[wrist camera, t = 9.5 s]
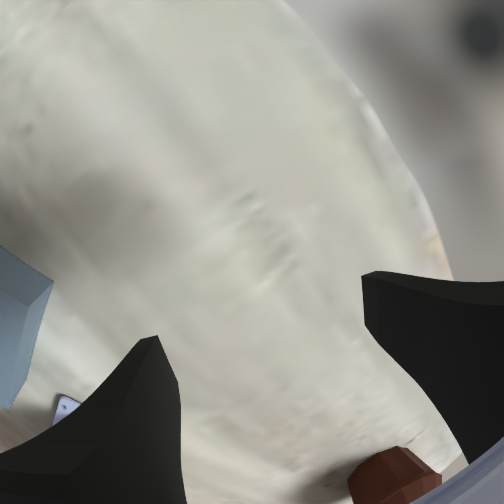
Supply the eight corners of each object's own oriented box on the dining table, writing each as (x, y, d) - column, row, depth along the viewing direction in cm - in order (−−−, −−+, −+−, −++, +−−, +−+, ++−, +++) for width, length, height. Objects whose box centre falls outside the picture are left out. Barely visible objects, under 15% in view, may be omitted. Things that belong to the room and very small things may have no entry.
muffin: (430, 434, 31) (472, 482, 21) (387, 486, 33) (417, 532, 23) (364, 443, 27) (407, 509, 18) (319, 498, 30) (347, 557, 20)
